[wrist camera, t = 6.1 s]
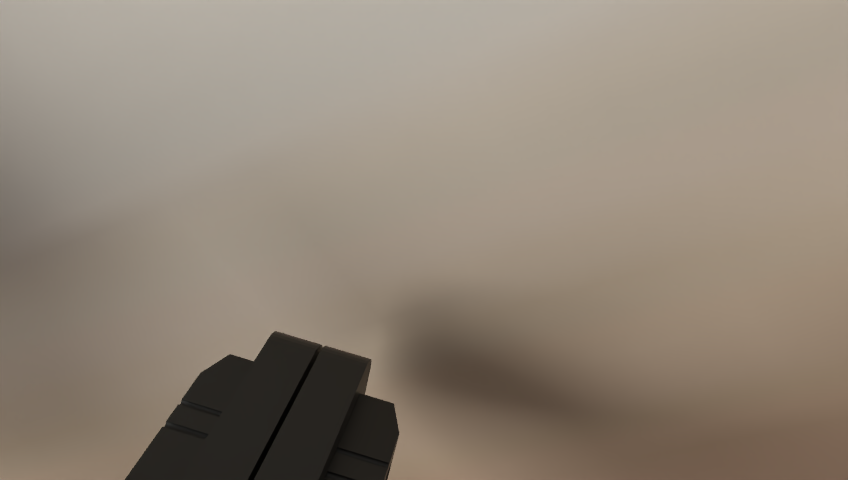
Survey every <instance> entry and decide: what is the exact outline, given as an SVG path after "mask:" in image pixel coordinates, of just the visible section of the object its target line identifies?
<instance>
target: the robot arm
mask: <svg viewBox="0 0 848 480" xmlns="http://www.w3.org/2000/svg"><path fill="white" fill-rule="evenodd" d="M370 368H371V359H368V358H365V357H361V356H358V355H355V354H351V353H348V352H345V351H341V350H338V349H335V348H331V347H328V346H324V347H323V348H322V345H320V344H317V343H314V342H310V341H307V340H304V339H300V338H297V337H294V336H290V335H287V334H284V333H280V332H277V331H275V332H273V333H272V334H271V336H270V337H269V339H268V340H267V342H266V343H265V345H264V347H263V348H262V350H261V351H260V353H259V354H258V356H257V358H256V359H255V361H250V360H247V359H244V358H241V357H237V356H234V355H231V354H230V355H228V356H226V357H225V358H223V359H222V360H220V361H219V362H217V363H215V364H214V365H212V366H211V367H209V368H208V369H206V370H204V371H203V372H201V373H200V374H199V376H198V377H197V379H196V380H195V382H194V383H193V384H192V386H191V387H190V389H189V390H188V391H187V393H186V394H185V396H184V397H183V398H182V401H181V404H180V405H178V406H177V407H176V408H175V410H174V411H173V413H172V414H171V415H170V417H169V418H168V420H167V421H166V425H165V427H162V428H161V429H160V431H159V432H158V434H157V435H156V437H155V438H154V439H153V441H152V442H151V444H150V445H149V446H148V448H147V449H146V451H145V452H144V453H143V455H142V456H141V458H140V459H139V461H138V462H137V463H136V465H135V466H134V468H133V469H132V470H131V472H130V473H129V475H128V476H127V477H126V479H125V480H387V478H388V475H389V471H390V467H391V463H392V459H393V455H394V451H395V448H396V444H397V440H398V436H399V430H398V424H397V419H396V413H395V408H394V404H393V403H390V402H387V401H383V400H380V399H377V398H373V397H370V396H367V395H365V391H366V386H367V382H368V377H369V372H370Z"/></svg>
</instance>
